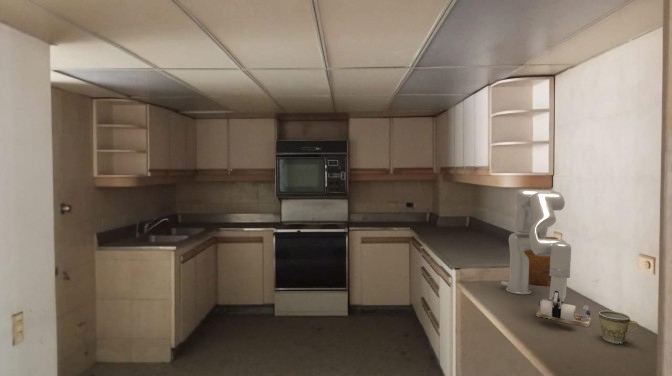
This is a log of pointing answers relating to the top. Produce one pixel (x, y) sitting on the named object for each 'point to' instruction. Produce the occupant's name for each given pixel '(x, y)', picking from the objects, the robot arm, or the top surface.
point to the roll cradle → (579, 319)
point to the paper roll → (566, 309)
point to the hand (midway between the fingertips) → (557, 314)
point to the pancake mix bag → (539, 268)
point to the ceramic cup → (614, 326)
